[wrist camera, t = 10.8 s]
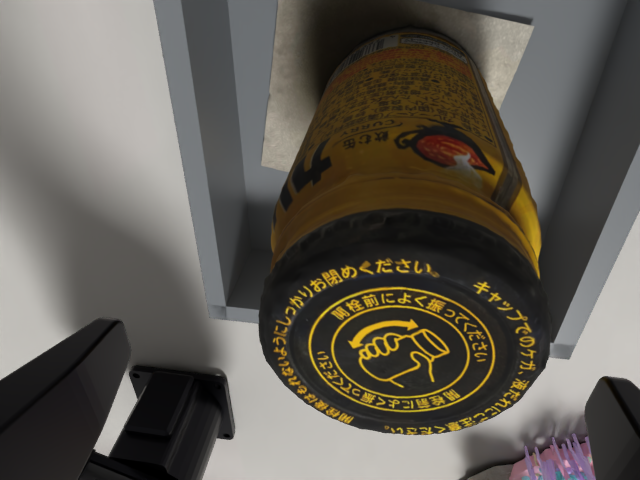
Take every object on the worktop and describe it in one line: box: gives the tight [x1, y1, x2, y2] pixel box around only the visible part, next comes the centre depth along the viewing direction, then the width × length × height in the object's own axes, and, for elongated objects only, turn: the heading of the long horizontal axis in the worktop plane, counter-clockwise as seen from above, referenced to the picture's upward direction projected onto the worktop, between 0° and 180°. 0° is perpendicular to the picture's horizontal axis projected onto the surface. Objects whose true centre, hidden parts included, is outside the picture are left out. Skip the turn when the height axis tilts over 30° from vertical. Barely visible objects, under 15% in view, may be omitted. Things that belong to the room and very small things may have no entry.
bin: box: [153, 0, 640, 359], centre depth 16 cm, size 17×15×5 cm
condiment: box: [258, 0, 552, 435], centre depth 13 cm, size 7×8×12 cm
